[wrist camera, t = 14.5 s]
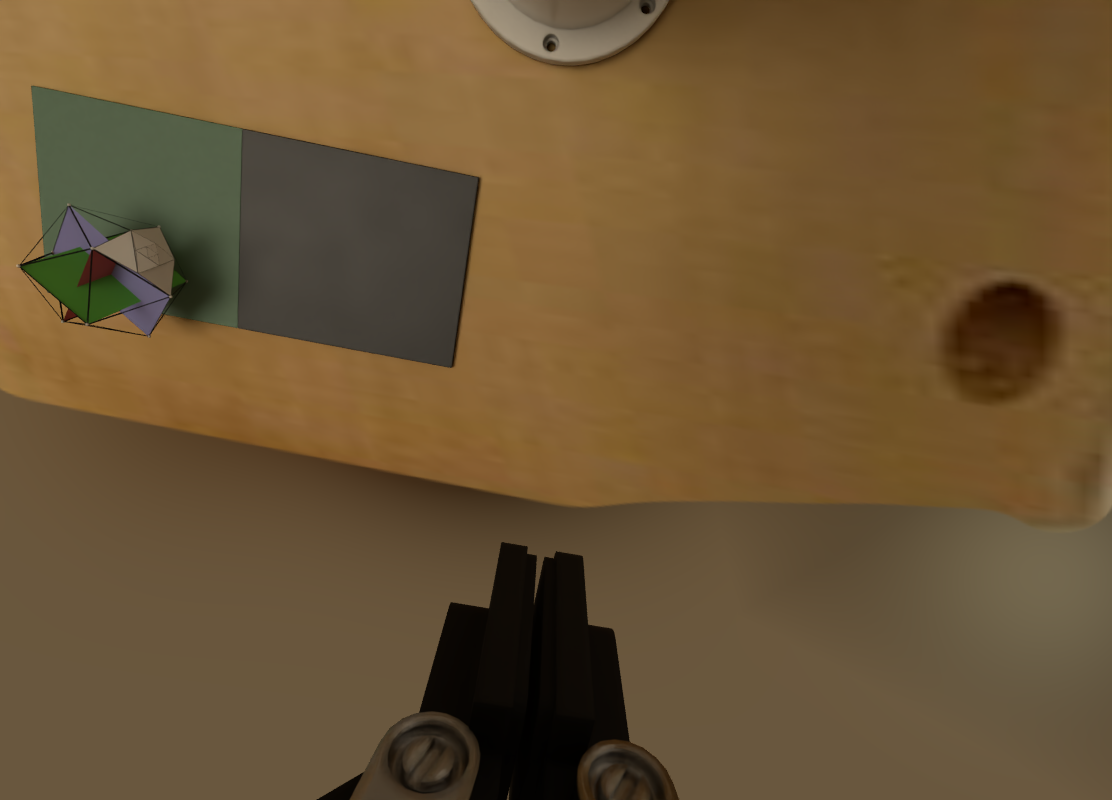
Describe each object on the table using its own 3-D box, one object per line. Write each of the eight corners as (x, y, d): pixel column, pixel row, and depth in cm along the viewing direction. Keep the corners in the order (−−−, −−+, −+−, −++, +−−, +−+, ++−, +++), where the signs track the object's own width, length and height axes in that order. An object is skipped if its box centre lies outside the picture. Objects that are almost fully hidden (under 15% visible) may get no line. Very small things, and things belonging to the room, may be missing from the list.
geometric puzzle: (121, 372, 35) (84, 342, 28) (24, 290, 34) (-41, 237, 27) (217, 300, 38) (205, 257, 31) (131, 222, 37) (98, 158, 30)
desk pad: (35, 86, 33) (30, 85, 33) (479, 177, 34) (478, 177, 34) (50, 291, 36) (46, 292, 36) (452, 366, 38) (451, 367, 38)
